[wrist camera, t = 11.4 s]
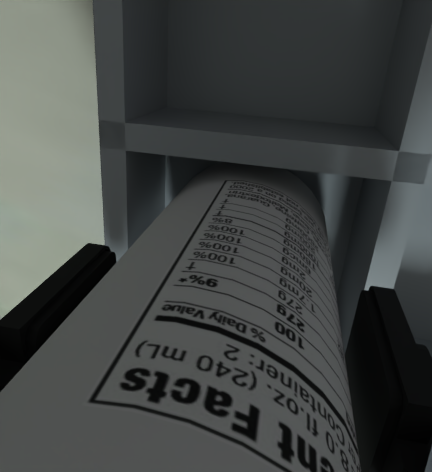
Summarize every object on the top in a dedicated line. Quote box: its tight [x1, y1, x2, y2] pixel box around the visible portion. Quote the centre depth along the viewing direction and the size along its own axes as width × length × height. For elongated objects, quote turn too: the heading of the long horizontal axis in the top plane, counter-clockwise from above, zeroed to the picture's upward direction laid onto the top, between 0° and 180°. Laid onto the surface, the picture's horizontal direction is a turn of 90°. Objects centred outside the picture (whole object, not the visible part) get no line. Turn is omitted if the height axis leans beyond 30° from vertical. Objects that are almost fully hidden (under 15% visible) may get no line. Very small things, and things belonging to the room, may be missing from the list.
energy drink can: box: [0, 162, 361, 472], centre depth 10 cm, size 6×6×15 cm
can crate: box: [93, 0, 432, 357], centre depth 13 cm, size 17×17×4 cm
